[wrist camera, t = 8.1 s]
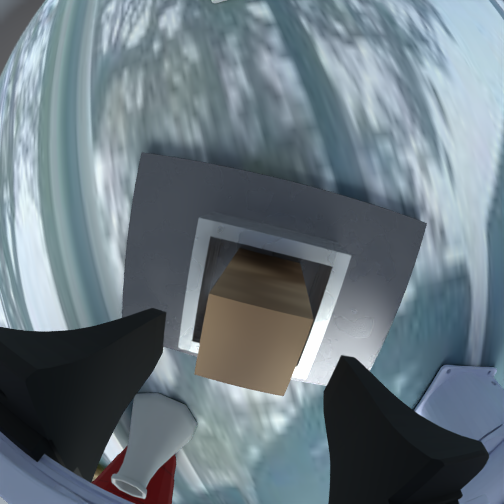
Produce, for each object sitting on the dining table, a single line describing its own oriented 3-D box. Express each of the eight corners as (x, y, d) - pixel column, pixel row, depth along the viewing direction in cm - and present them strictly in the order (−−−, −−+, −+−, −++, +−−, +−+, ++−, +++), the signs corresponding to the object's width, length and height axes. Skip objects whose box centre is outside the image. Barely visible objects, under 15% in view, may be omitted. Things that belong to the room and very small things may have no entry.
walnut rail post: (300, 263, 18) (313, 319, 10) (283, 318, 19) (283, 396, 11) (239, 248, 18) (209, 293, 10) (226, 303, 19) (194, 374, 11)
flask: (126, 383, 23) (76, 451, 14) (195, 397, 23) (160, 483, 13) (140, 429, 25) (105, 491, 15) (201, 443, 24) (177, 516, 15)
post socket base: (420, 221, 17) (453, 231, 13) (356, 382, 21) (368, 418, 16) (148, 153, 18) (114, 147, 14) (127, 325, 22) (100, 352, 17)
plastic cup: (216, 469, 25) (195, 548, 14) (157, 475, 28) (130, 538, 16) (154, 414, 24) (107, 501, 12) (101, 427, 26) (58, 490, 14)
